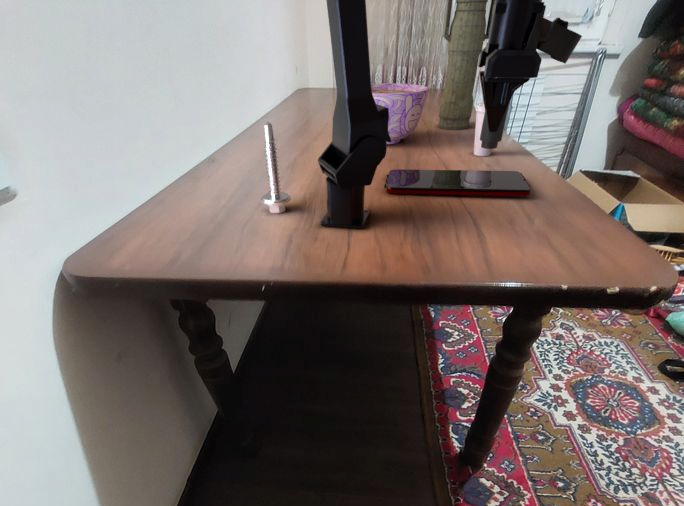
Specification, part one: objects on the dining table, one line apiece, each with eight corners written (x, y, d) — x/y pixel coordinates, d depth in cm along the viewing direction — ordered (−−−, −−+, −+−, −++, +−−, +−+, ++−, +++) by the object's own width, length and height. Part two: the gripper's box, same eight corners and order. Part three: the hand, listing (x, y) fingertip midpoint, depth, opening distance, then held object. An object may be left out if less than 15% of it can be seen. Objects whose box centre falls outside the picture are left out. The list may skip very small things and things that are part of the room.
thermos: (428, 124, 120) (447, -39, 98) (467, 122, 121) (494, -39, 99) (437, 130, 113) (459, -43, 91) (478, 128, 114) (510, -44, 92)
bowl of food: (429, 149, 96) (435, 92, 89) (345, 150, 97) (345, 94, 90) (417, 132, 112) (422, 82, 105) (345, 133, 113) (345, 84, 105)
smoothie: (491, 150, 95) (506, 78, 86) (500, 157, 90) (517, 82, 81) (464, 151, 95) (476, 79, 86) (472, 158, 90) (486, 83, 81)
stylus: (500, 150, 62) (516, 79, 56) (478, 149, 62) (491, 79, 57) (498, 145, 64) (513, 77, 58) (477, 144, 65) (490, 77, 59)
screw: (266, 217, 64) (259, 208, 68) (295, 213, 66) (287, 204, 69) (254, 126, 56) (247, 120, 60) (288, 123, 57) (279, 117, 61)
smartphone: (388, 167, 80) (520, 169, 76) (387, 176, 81) (518, 178, 77) (383, 187, 71) (534, 190, 67) (383, 196, 72) (531, 199, 68)
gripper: (610, -15, 43) (561, 145, 53) (571, -5, 57) (538, 119, 67) (501, -11, 45) (473, 142, 55) (489, -3, 59) (468, 118, 69)
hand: (491, 129), depth 62 cm, fingers closed on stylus, 3 cm apart
